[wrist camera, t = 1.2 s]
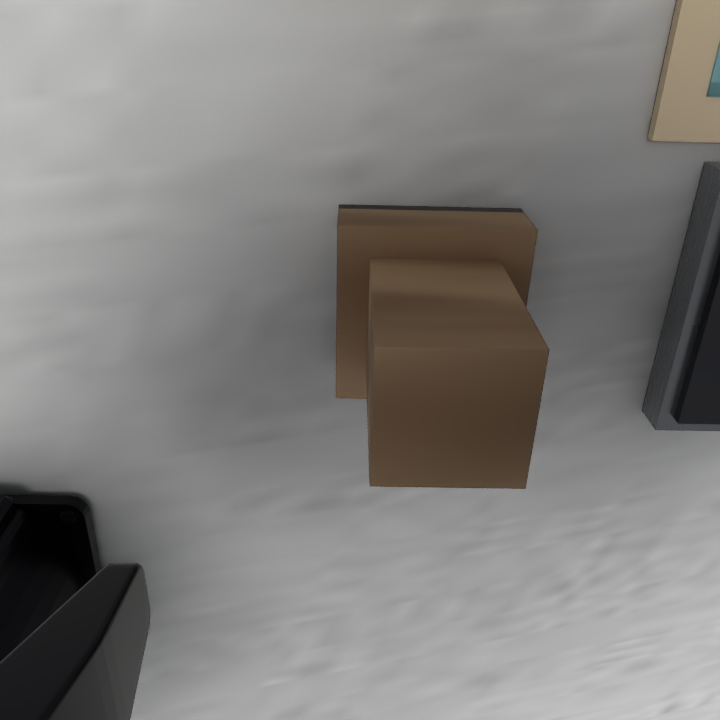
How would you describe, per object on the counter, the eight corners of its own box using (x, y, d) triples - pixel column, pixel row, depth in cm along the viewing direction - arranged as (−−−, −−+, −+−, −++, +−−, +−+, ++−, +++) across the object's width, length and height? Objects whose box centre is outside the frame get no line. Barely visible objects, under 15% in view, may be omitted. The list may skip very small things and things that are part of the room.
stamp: (498, 367, 19) (558, 519, 14) (337, 364, 19) (330, 516, 14) (520, 207, 17) (600, 310, 12) (338, 203, 17) (331, 305, 11)
